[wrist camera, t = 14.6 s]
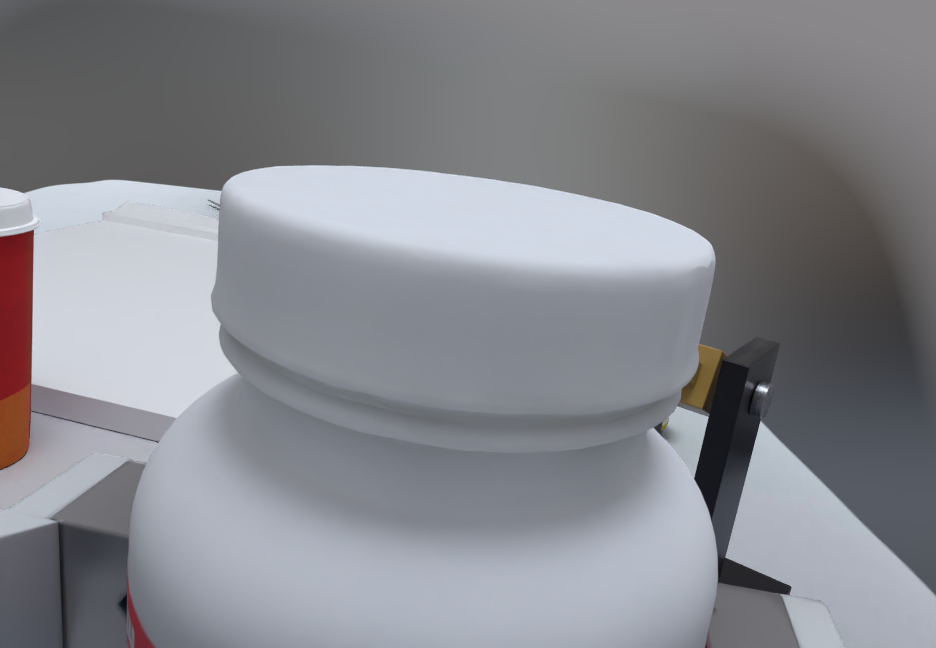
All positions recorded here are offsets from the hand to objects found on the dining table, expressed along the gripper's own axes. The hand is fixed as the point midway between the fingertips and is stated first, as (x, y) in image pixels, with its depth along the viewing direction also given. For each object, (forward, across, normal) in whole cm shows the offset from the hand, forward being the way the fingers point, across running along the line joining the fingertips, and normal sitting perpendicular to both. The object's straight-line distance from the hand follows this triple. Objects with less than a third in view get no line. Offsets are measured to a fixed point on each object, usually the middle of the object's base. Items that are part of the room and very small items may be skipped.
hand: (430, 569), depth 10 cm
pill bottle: (-1, 0, +7) cm, 7 cm away
